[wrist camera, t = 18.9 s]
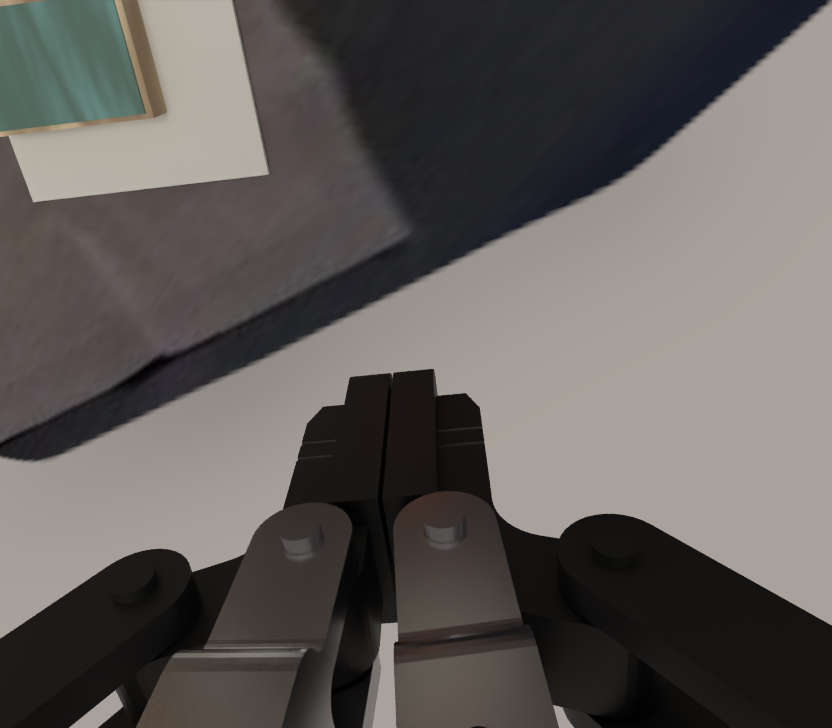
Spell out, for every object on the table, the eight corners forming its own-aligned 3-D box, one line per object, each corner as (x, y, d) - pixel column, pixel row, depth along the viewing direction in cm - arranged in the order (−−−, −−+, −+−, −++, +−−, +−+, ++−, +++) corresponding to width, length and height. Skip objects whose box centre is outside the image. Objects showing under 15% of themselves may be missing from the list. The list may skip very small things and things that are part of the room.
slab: (115, -16, 37) (-59, 7, 38) (153, 118, 41) (-8, 137, 41) (133, -15, 40) (-31, 7, 40) (167, 112, 43) (14, 131, 44)
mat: (207, -121, 38) (205, -122, 37) (269, 173, 45) (268, 174, 45) (-69, -81, 39) (-74, -82, 38) (36, 200, 46) (33, 201, 46)
